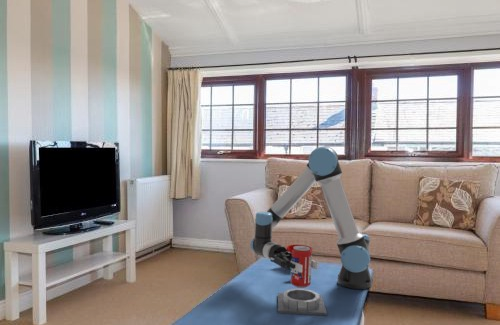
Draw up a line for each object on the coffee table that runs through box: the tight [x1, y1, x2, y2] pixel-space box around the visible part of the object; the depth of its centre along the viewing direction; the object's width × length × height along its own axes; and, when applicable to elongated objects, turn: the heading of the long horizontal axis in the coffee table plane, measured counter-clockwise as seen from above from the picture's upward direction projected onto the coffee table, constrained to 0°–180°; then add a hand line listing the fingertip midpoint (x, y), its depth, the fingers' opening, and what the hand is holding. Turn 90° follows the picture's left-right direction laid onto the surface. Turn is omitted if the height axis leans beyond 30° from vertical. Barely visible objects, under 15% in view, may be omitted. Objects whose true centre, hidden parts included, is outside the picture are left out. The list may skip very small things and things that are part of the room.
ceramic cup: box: [286, 244, 313, 253], centre depth 214 cm, size 13×17×10 cm
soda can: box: [290, 245, 313, 289], centre depth 164 cm, size 8×8×15 cm
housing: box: [277, 288, 328, 316], centre depth 165 cm, size 18×18×4 cm
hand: (309, 267), depth 160 cm, fingers closed on soda can, 7 cm apart
